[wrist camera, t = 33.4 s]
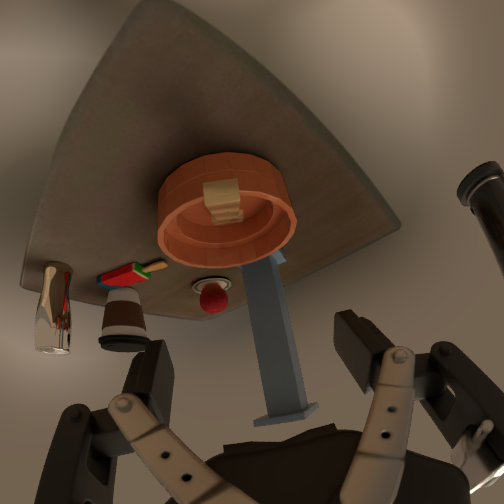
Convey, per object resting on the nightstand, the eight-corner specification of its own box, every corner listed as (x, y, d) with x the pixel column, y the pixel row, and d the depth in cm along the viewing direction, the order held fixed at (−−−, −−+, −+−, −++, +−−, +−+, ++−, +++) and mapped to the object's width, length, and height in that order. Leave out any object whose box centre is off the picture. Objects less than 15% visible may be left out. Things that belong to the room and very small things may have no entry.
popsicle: (172, 272, 48) (110, 291, 50) (172, 264, 48) (110, 284, 51) (158, 262, 44) (94, 283, 46) (158, 254, 44) (95, 276, 47)
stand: (288, 258, 54) (321, 406, 41) (249, 270, 56) (276, 415, 43) (267, 229, 44) (308, 418, 31) (221, 246, 46) (250, 427, 33)
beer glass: (50, 255, 38) (42, 345, 31) (81, 269, 44) (78, 353, 37) (35, 268, 41) (28, 349, 34) (64, 280, 46) (61, 356, 39)
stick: (249, 199, 19) (245, 176, 19) (196, 206, 19) (193, 183, 19) (242, 221, 37) (241, 209, 37) (215, 225, 37) (213, 212, 37)
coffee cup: (89, 292, 53) (88, 347, 47) (118, 277, 49) (118, 340, 43) (127, 304, 62) (129, 354, 56) (158, 291, 58) (162, 347, 52)
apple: (232, 274, 56) (237, 305, 53) (229, 289, 63) (233, 317, 60) (191, 277, 54) (194, 309, 51) (193, 292, 61) (196, 321, 58)
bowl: (229, 123, 25) (238, 165, 23) (305, 193, 37) (318, 231, 35) (133, 203, 33) (130, 245, 30) (217, 242, 45) (222, 277, 42)
